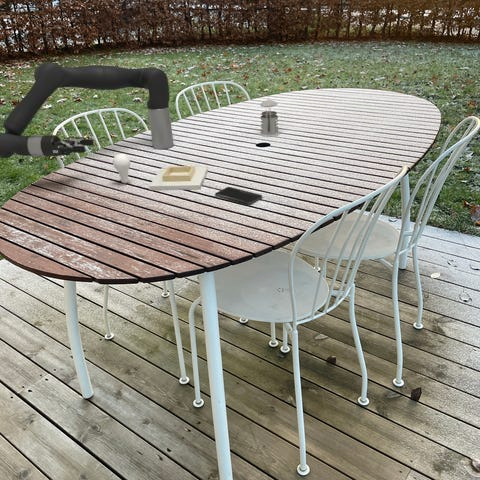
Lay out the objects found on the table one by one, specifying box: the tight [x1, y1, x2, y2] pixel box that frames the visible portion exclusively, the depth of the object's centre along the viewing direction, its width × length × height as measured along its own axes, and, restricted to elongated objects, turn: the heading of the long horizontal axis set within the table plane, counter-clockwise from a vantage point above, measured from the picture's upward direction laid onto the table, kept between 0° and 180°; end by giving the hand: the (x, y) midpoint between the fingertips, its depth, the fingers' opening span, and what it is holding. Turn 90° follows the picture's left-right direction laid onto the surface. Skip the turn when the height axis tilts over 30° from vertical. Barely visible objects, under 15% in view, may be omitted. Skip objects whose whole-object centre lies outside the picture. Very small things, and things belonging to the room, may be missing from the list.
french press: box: [258, 77, 281, 138], centre depth 212 cm, size 10×12×25 cm
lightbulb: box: [112, 153, 131, 184], centre depth 170 cm, size 6×6×11 cm
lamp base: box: [148, 165, 209, 191], centre depth 172 cm, size 18×18×4 cm
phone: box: [214, 186, 263, 206], centre depth 156 cm, size 8×1×15 cm
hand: (88, 145), depth 167 cm, fingers open, 8 cm apart
